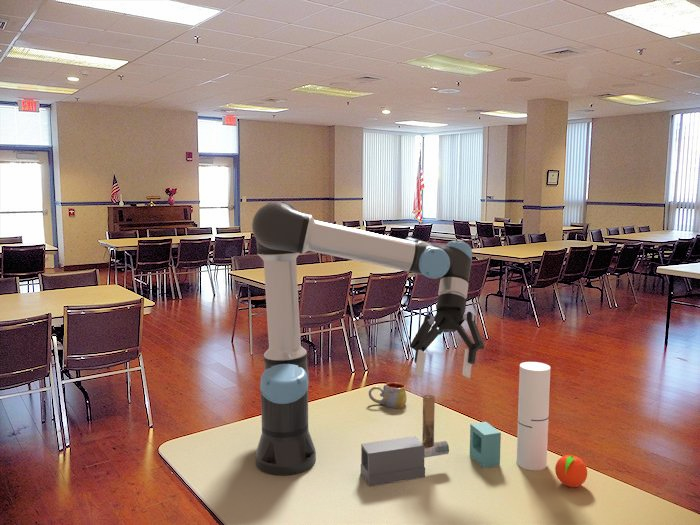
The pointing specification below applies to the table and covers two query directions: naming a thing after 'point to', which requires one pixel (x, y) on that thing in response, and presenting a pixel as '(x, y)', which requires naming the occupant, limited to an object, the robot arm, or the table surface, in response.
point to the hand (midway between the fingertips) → (441, 376)
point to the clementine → (571, 471)
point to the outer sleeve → (392, 460)
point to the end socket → (485, 444)
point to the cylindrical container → (533, 415)
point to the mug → (391, 395)
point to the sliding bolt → (431, 430)
